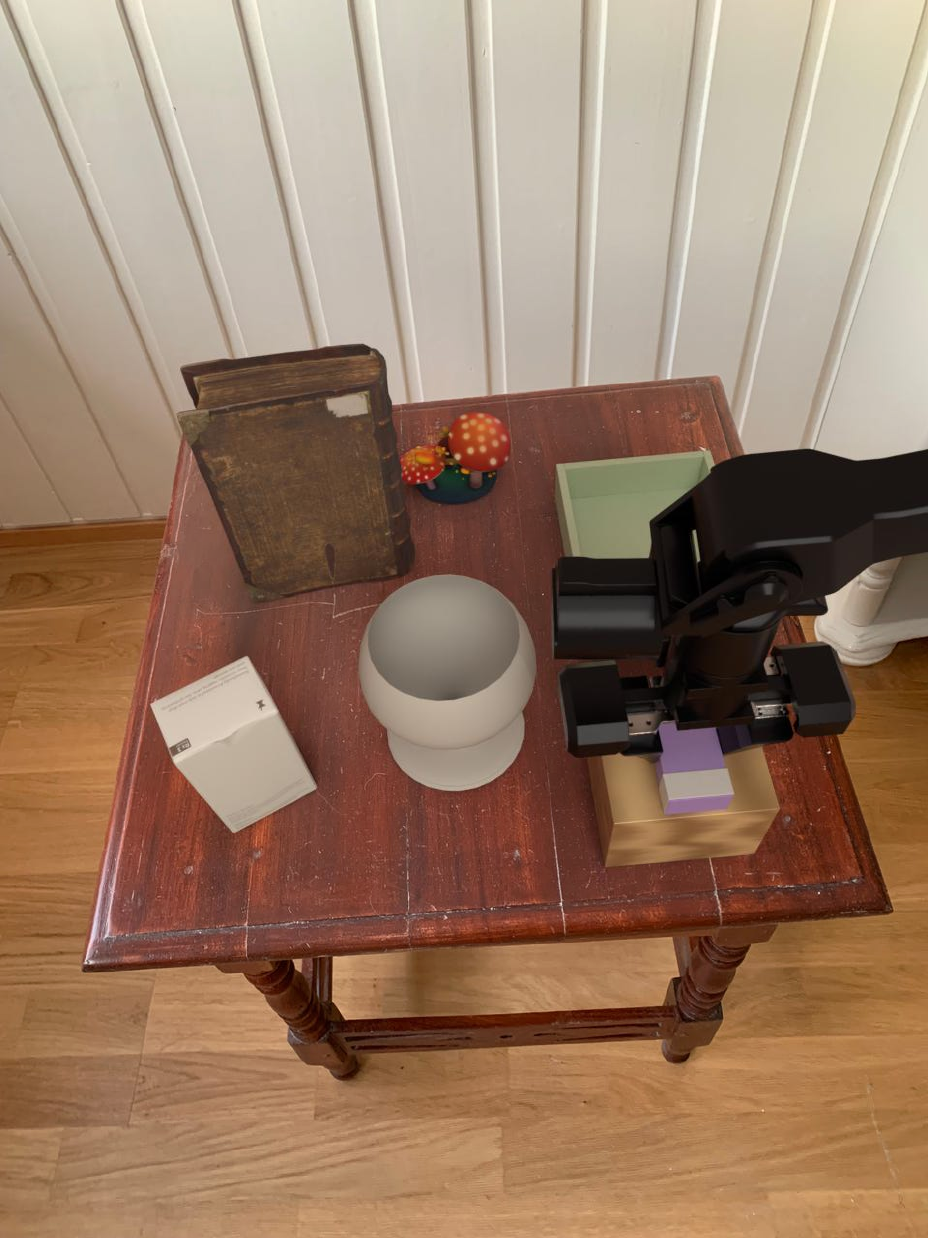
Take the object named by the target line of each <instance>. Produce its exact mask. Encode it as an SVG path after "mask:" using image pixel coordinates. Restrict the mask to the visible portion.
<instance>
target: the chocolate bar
mask: <svg viewBox="0 0 928 1238" xmlns="http://www.w3.org/2000/svg"><path fill="white" fill-rule="evenodd" d="M665 712H667V711H665ZM659 733H660V738H661V742H662V747H663V754H662V756H661V758H660V760H659V761H658V762H656V763H654V765H655V770H656V774H657V779H658V784H659V792H660V797H661V802H662V806H663V811H664V814H665V815H667V814H678V813H689V812H701V811H712V810H723V809H728V806H729V804H730V802H731V800H732V797H733V795H734V791H733V788H732V784H731V780H730V776H729V773H728V769H727V768H726V765H725V761H724V758H723V754H722V750H721V746H720V742H719V739H718V735H717V731H716V728H705V729H694V730H683V731H677V728H676V724H675V723H670V724H661V725H660V726H659Z"/></svg>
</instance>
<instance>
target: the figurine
mask: <svg viewBox="0 0 928 1238" xmlns="http://www.w3.org/2000/svg"><path fill="white" fill-rule="evenodd" d="M437 435H438V436H439V437H441V438H440V439H439V440H438V442H437V444H436V445H420V446H419V445H416V447H414V448H412V449H409V450H407V451H406V452H405V453H404V454H403V455H402V456H401V457H400V458H399V459H400V462H401V464H402V483H405V484H407V485H408V484H409V485H415V487H416V489H417V490H418V492H419V493H420V494H421V495H422V497H424V498H425V499H427V500H429V501H431V502H433V503H437V504H442V505H462V504H469V503H473V502H475V501H477V500H479V499H482V498H484V497H485V496H487V495H489V493H490V492H491V491H492V489H493V488H494V486H495V485H496V482H497V478H498V469H500V468H501V467H503V466H505V464H506V463H507V462H508V460H509V458H510V454H511V452H512V451H511V450H512V441H511V440H512V439H511V435H510V433H509V431H508V429H507V426H506V425H505V424H504V423H503V422H502V420H500V419H499V418H497V417H496V416H493V415H492V414H490V413H486V412H480V411H477V412H476V411H475V412H473V411H471V412H467V413H464V414H461V415H460V416H458V417H457V418H455V420H454V421H453V422H452V423H451V425H450V427H449V428H447V427H446V426H442V432H441V433H439V434H437Z"/></svg>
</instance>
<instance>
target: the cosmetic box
mask: <svg viewBox="0 0 928 1238" xmlns="http://www.w3.org/2000/svg"><path fill="white" fill-rule="evenodd" d="M149 705H150V707H151V710H152V712H153V715H154V718H155V720H156V722H157V725H158V728H159V730H160V732H161V735H162V737H163V740H164V742H165V745H166V747H167V750H168V752H169V755H170V757H171V760H172V762H173V764H174V766H175V767H176V768H177V769H178V771H179V772H180V773H181V774H182V775H183V776H184V777H185V779H186V780H187V781H188V782H189V784H190V785H191V786H192V787H193V788H194V789H195V790H196V792H197V793H198V794H199V795H200V797H202V799H203V800H204V801H205V803H206V804H208V806H209V807H210V808H211V809H212V810H213V812H214V813H215V814H216V816H218V817H219V819H220V820H221V821H222V823H224V825H225V826H226V827H227V828H228V830H230V832H231V833H232V834H235V833H238V832H240V831H241V830H243V829H245V828H248V827H249V826H251V825H253V824H254V823H257V822H258V821H260V820H262V819H264V818H266V817H268V816H270V815H271V814H273V813H275V812H277V811H278V810H281V809H283V808H284V807H287V806H289V805H290V804H292V803H294V802H295V801H297V800H299V799H301V798H302V797H304V796H306V795H307V794H309V793H312V792H314V791H315V790H316V791H317V789H318V786H317V782H316V781H315V779H314V777H313V775H312V773H311V770H310V768H309V767H308V764H307V763H306V760H305V759H304V756H303V755H302V753H301V751H300V748H299V746H298V745H297V743H296V741H295V738H294V737H293V735H292V733H291V731H290V729H289V728H288V726H287V723H286V722H285V720H284V719H283V716H282V715H281V712H280V711H279V709H278V707H277V705H276V702H275V700H274V699H273V697H272V695H271V693H270V691H269V689H268V687H267V685H266V683H265V682H264V680H263V678H262V677H261V675H260V673H259V672H258V671H257V669H256V667H255V665H254V664H253V662H252V660H251V659H250V657H249V656H248V655H245V656H243V657H241V658H239V659H237V660H235V661H233V662H231V663H229V664H227V665H225V666H223V667H221V668H219V669H217V670H215V671H213V672H211V673H209V674H207V675H205V676H203V677H201V678H199V679H197V680H195V681H193V682H191V683H189V684H186V685H185V686H183V687H181V688H179V689H177V690H175V691H173V692H171V693H169V694H167V695H165V696H163V697H161V698H159V699H157V700H155V701H153V702H151V703H150V704H149Z"/></svg>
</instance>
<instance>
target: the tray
mask: <svg viewBox="0 0 928 1238" xmlns="http://www.w3.org/2000/svg"><path fill="white" fill-rule="evenodd" d="M715 465H716V464H715V461H714V458H713V454H712V452H711V450H710V449H707V450H697V451H695V450H694V451H685V452H674V453H673V452H672V453H664V454H652V455H641V456H630V457H621V458H620V457H619V458H611V459H599V460H597V459H596V460H588V461H576V462H565V463H556V464H555V480H554V483H555V485H554V502H555V507H556V514H557V519H558V524H559V530H560V536H561V542H562V547H563V553H564V557H569V556H580V557H589V558H649V554H650V548H651V535H650V526H649V522H650V520H651V519H653V518H654V517H655V516H656V515H658V514H659V513H660V512H662V511H663V510H664V509H666V508H667V507H668V506H670V505H671V504H672V503H673V502H675V501H676V500H677V499H679V498H680V497H681V496H683V495H684V494H685V493H686V492H688V491H689V490H690V489H692V488H693V487H694V486H696V485H697V484H698V483H699V482H701V481H702V480H703V479H704V478H705V477H706V476H707V475H708V474H710V469H711V468H712V467H713V466H715ZM693 535H694V542H695V548H696V555H697V562H699V561H700V556H699V550H698V543H697V536H696V530H694V531H693Z"/></svg>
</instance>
